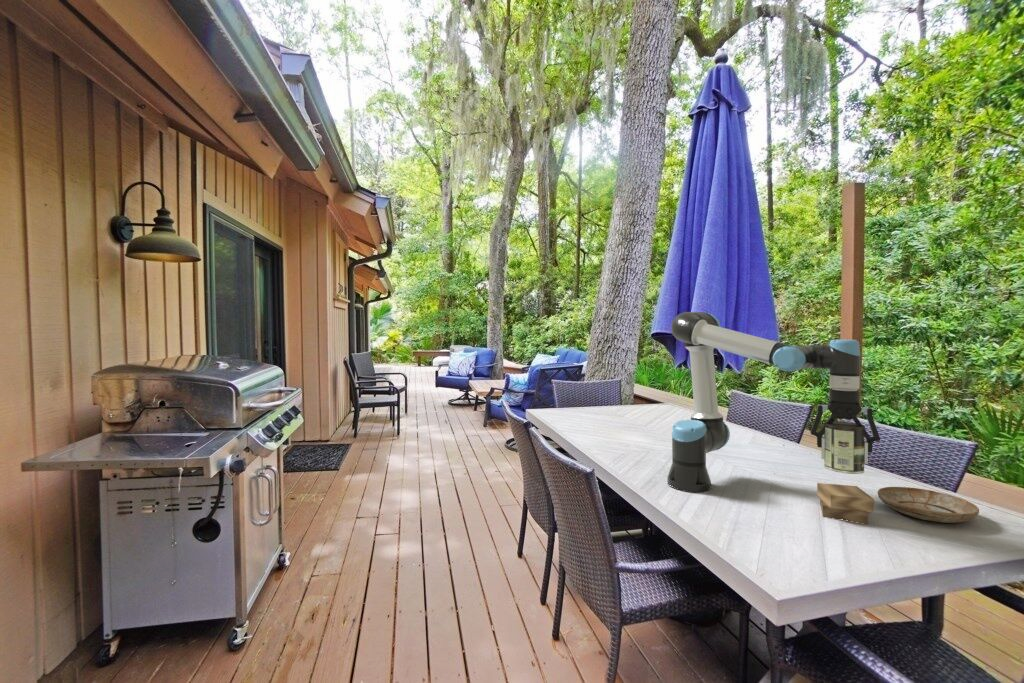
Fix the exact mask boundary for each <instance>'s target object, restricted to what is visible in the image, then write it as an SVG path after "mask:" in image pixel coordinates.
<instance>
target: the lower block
mask: <svg viewBox="0 0 1024 683" xmlns="http://www.w3.org/2000/svg"><path fill="white" fill-rule="evenodd" d="M819 506H821V507H820V511H821V514H822V518H826V517H827V519H832V518H834V519H833V520H838V519H843V520H848V521H847V522H849V521H853V522H852V523H855V522H858V523H857V524H861V523H864V524H863V525H867V524H869V512H867V511H856V510H845V509H835V508H830V507H829V506H828V505H827V504H826V503H825V502H824V501H823V500H822V499H821V498H820V497H819ZM843 520H842V521H843Z"/></svg>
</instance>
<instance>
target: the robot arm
mask: <svg viewBox="0 0 1024 683" xmlns="http://www.w3.org/2000/svg"><path fill="white" fill-rule="evenodd" d="M670 329H671V333H672V336H674V338H675V339H677V341H679V342H682V343H684V347H685V349H686V350H688V351H689V358H690V370H691V371H690V373H691V384H692V385H691V386H692V397H693V399H692V400H693V410H694V411H693V413H692V414H691V415H690V419H686V420H684V419H683V420H679V421H676V422H675V423H673V426H672V431H671V441H672V442H671V444H672V446H671V448H672V449H671V451H672V452H671V455H672V456H671V457H672V458H671V459H672V460H671V461H672V462H671V466H670V469H669V472H668V475H667V476H666V479H667V480H666V482H668V483H667V485H668V484H669V485H671V486H673V487H675V488H678V489H681V490H680V491H682V490H685V491H684V492H688V491H691V492H692V493H703V492H708V491H710V490H711V488H712V481H711V478H710V474H709V472H708V469H707V454H708V453H710V452H711V453H712V452H715V451H718V450H720V449H722V448H724V447H725V446H726V445H727V443H729V440H730V436H731V432H730V429H729V426H728V425H727V424H726V422H725V421H724V416H723V415H722V414H721V412H719V405H718V404H719V403H718V393H717V381H716V380H717V379H716V370H715V369H716V367H715V357H714V356H715V355H714V349H717V350H720V351H724V352H727V353H731V354H734V355H738V356H741V357H745V358H747V359H750V360H751V359H752V360H753V361H758V362H761V363H763V364H768V365H771V366H773V367H776V368H777V369H778V370H780V371H783V372H788V373H789V372H790V373H791V372H792V373H793V372H796V371H800V370H807V369H821V370H829V388H830V389H829V400H828V401H829V402H828V403H827V404H820V403H819V404H817V411H816V412H817V413H816V415H815V418H814V421H813V423H812V426H811V429H810V432H809V433H810V435H812V436H815V437H816V446H817V448H821V449H820V458H821V459H822V460H824V459H825V438H824V433H825V425H824V424H823V425H822V426H821V427H820V429H819V430H818V427H819V425H820V422H821V421H822V420H821V419H822V417H823V413H824V412H826V410H829V412H830V413H831V414H830V415H829V417H828V418H827V419H826V421H825V422H826V424H832V423H833V422H834V421H836V420H837V419H839V420H847V421H848V420H849V421H851V420H853V423H856V425H857V426H858V427H861V426H863V425H864V424H862V422H860V420H859V418H858V415H859V414H860V412H862V413H863V414H864V415H865V416H866V417H865V418H866V419H867V422H868V425H869V427H870V430H871V434H872V436H870V435H869V433H868V431H867V430H866V428H865V429H864V439H866V440H864V465H869V464H868V463H869V456H868V454H869V453H870V454H872V452H873V443H874V442H880V441H881V438H880V434H879V431H878V429H877V425H876V422H875V421H874V417H873V414H874V413H873V412H874V411H873V409H872V408H871V407H863V406H861V405H860V404H861V403H860V397H861V396H860V391H859V389H860V384H861V383H860V381H861V380H860V377H861V376H860V368H861V367H860V366H861V364H860V363H861V351H860V348H861V347H860V342H859V341H858V340H857V339H830V341H829V344H827V345H815V344H814V345H812V344H795V345H793V344H792V345H791V344H786V343H784V342H783V343H782V342H779V341H775V340H770V339H767V338H764V337H759V336H757V335H752V334H749V333H746V332H745V333H744V332H741V331H737V330H734V329H730V328H725V327H722V326H721V322H720V320H719V319H718V318H717V317H716V316H715V315H714V314H712V313H710V312H704V311H701V312H699V311H698V312H697V311H693V312H692V311H683V312H682V313H679V314H678V315H676V316H675V317H674V318H673V320H672V321H671V326H670ZM817 430H818V431H817ZM669 485H668V486H669ZM671 486H670V487H671ZM673 487H672V488H673ZM675 488H674V489H675ZM678 489H677V490H678ZM691 492H690V493H691Z"/></svg>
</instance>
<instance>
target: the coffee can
mask: <svg viewBox="0 0 1024 683" xmlns="http://www.w3.org/2000/svg"><path fill="white" fill-rule="evenodd" d="M823 425H825V433H824V435H823V437H824V438H825V459H823V467H824V469H827V470H829V471H832V472H836V473H841V474H846V475H847V474H848V475H861V474H864V473H865V464H864V441H865V436H864V429H865V430H866V426H865V425H864V424H862V425H863V426H861V427H858V426H857V425H856V423H855V422H852V421H843V420H842V421H839V420H835V421H834V422H833V423H832V424H826V421H824V422H823Z"/></svg>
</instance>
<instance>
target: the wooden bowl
mask: <svg viewBox="0 0 1024 683" xmlns="http://www.w3.org/2000/svg"><path fill="white" fill-rule="evenodd" d="M877 497H878V498H879V499H880V500H881V502H882V503H884V504H885V505H886V506H888V507H889V508H891V509H892V510H895V511H897V512H899V513H901V514H903V515H906V516H908V517H909V516H910V517H912V518H916V519H919V520H924V521H929V522H935V523H943V524H945V523H947V524H952V523H962V522H963V523H964V522H967V521H970V520H973V519H975V518H976V517H977V516H978V515H979V513H980V508H979V507H978V506H977V505H976V504H974V503H973V502H971V501H968V500H966V499H963V498H961V497H958V496H954V495H952V494H948V493H944V492H939V491H935V490H931V489H924V488H920V487H919V488H917V487H906V486H886V487H881V488H879V489H878V491H877Z"/></svg>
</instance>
